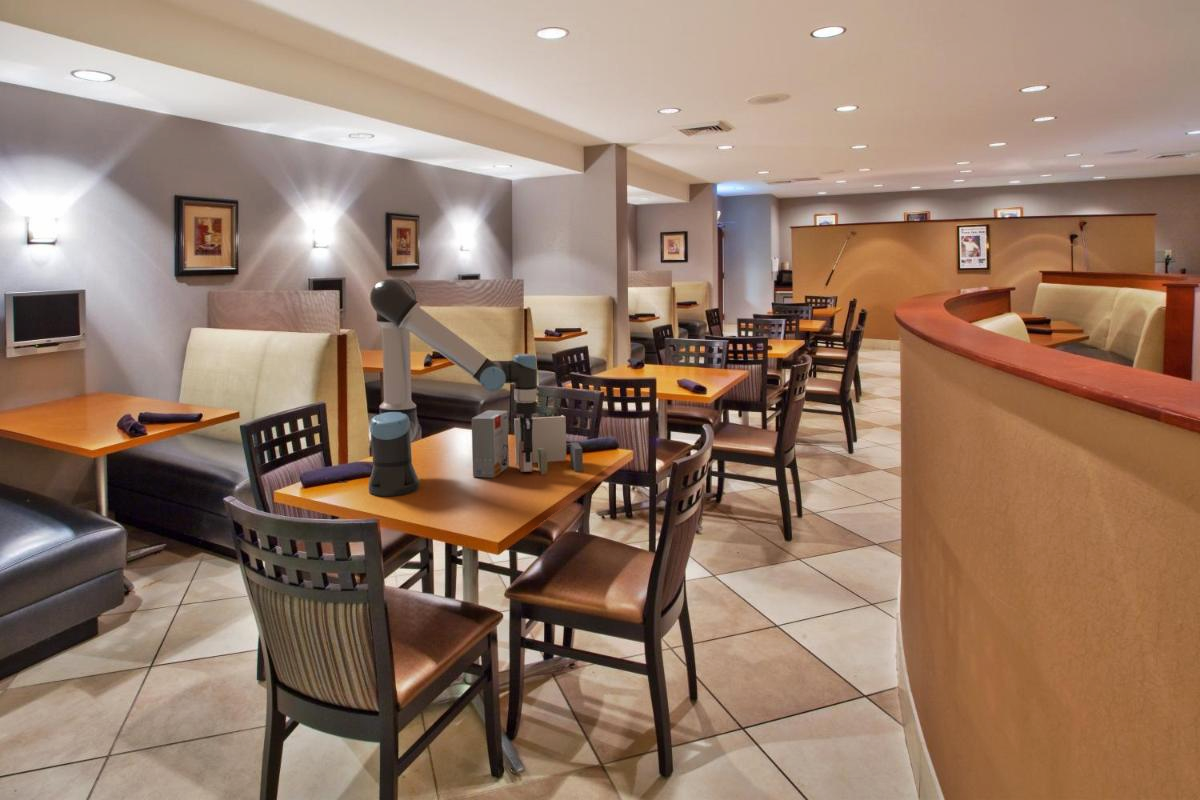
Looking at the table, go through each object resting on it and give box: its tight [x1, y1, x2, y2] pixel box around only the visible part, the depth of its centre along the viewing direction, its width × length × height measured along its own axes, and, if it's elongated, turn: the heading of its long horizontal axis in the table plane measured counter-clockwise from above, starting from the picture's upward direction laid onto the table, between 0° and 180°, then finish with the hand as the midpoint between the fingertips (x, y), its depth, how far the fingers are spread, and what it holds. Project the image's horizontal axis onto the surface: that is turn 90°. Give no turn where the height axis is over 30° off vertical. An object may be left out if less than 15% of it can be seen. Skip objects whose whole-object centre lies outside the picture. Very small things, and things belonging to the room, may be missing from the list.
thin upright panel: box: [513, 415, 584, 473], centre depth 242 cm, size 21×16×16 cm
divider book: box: [537, 448, 548, 475], centre depth 239 cm, size 2×8×7 cm, turn 12°
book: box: [518, 441, 534, 473], centre depth 237 cm, size 4×6×9 cm, turn 12°
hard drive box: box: [471, 409, 510, 479], centre depth 237 cm, size 16×8×20 cm, turn 168°
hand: (526, 468), depth 237 cm, fingers closed on book, 6 cm apart
